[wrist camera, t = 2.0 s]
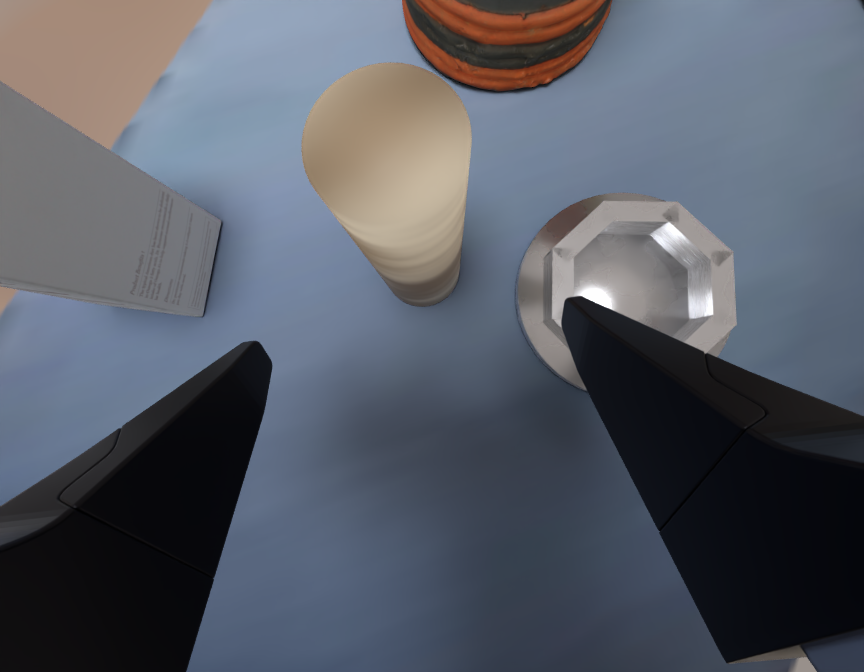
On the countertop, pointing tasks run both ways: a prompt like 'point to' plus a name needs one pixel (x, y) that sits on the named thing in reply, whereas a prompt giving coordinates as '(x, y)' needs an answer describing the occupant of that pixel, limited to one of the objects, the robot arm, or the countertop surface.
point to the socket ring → (626, 275)
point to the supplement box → (94, 220)
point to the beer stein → (504, 38)
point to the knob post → (395, 173)
